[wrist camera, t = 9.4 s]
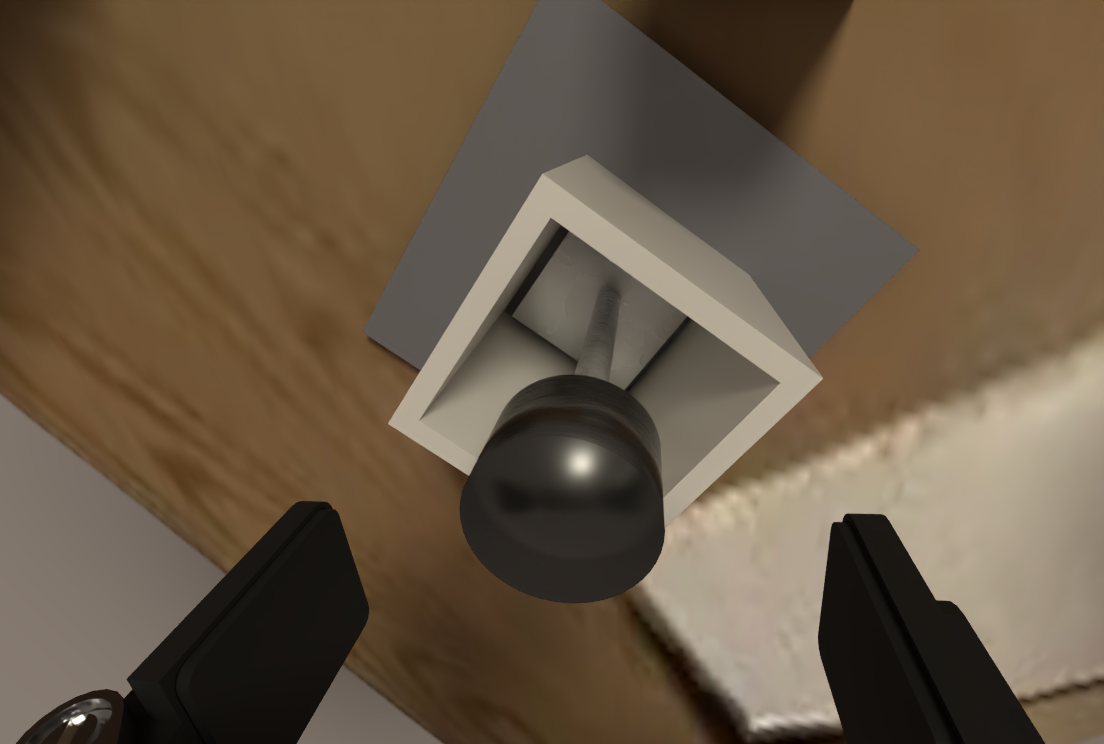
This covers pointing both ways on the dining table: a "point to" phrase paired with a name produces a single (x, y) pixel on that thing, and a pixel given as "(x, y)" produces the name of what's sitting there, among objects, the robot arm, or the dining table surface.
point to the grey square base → (627, 248)
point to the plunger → (576, 442)
